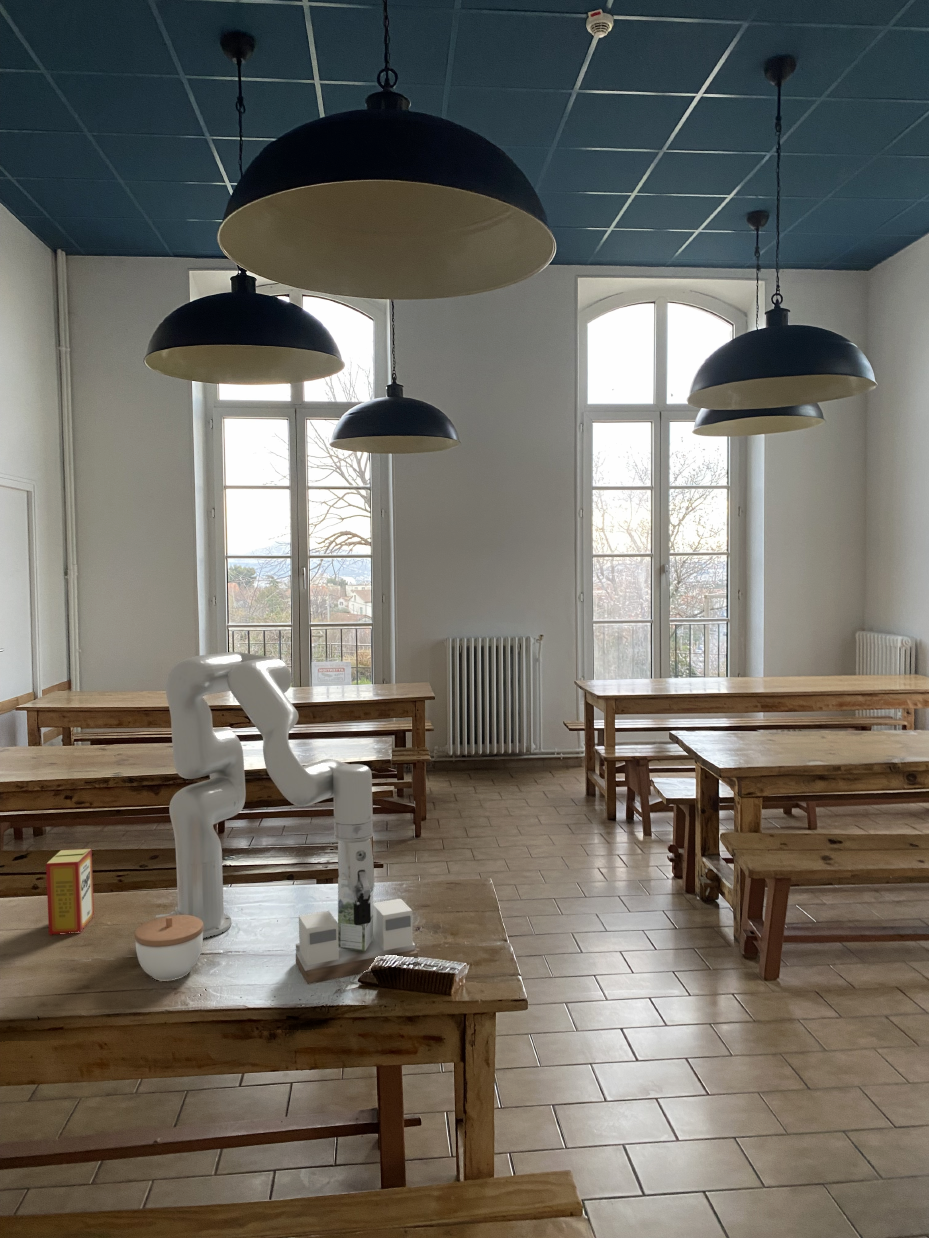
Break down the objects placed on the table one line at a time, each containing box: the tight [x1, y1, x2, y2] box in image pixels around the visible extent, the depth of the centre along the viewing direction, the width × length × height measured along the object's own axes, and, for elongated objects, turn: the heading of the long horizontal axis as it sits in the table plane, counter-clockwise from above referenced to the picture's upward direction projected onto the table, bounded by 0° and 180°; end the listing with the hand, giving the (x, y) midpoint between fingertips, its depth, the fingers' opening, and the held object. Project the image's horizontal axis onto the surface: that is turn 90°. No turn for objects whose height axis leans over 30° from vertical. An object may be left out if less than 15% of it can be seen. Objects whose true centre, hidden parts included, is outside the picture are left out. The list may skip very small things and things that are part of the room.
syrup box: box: [337, 873, 375, 951], centre depth 173 cm, size 6×6×14 cm
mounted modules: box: [298, 898, 414, 965], centre depth 173 cm, size 21×7×7 cm, turn 113°
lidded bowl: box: [134, 915, 204, 980], centre depth 171 cm, size 13×13×11 cm
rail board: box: [295, 938, 419, 985], centre depth 174 cm, size 22×10×4 cm, turn 113°
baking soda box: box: [45, 848, 95, 936], centre depth 195 cm, size 10×6×16 cm
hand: (355, 914), depth 173 cm, fingers open, 9 cm apart
